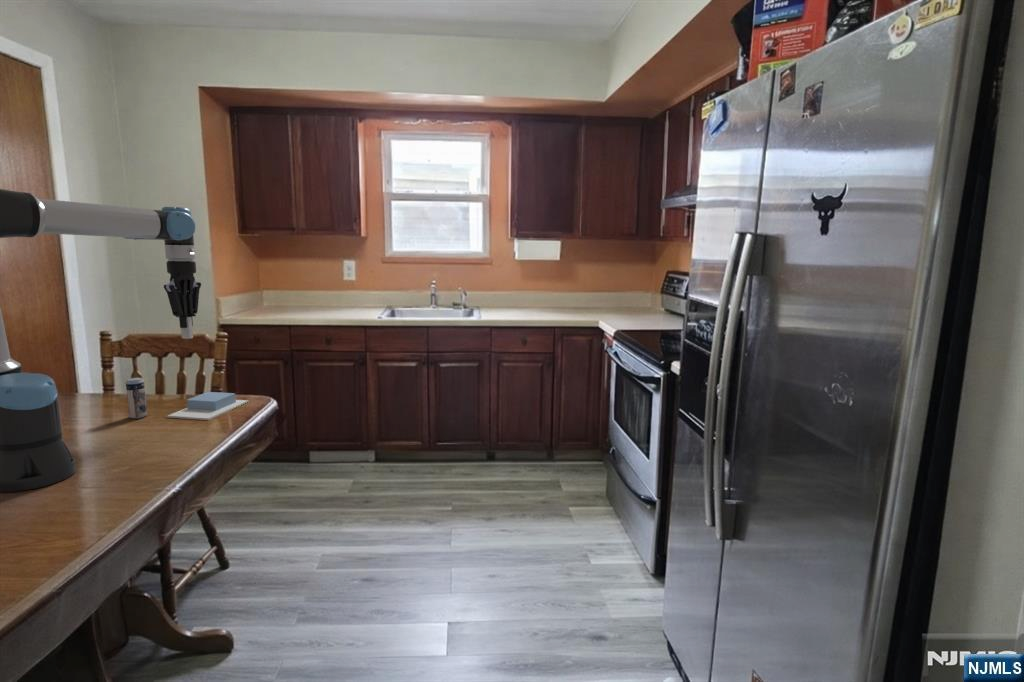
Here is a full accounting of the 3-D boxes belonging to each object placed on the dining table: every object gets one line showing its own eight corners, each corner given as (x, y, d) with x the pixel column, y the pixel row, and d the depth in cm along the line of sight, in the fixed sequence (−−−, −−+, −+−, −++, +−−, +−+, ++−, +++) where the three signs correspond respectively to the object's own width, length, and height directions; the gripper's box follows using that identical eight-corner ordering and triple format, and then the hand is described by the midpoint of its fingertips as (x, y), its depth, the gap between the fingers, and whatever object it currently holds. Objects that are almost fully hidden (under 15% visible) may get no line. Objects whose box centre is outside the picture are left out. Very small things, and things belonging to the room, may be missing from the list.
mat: (208, 420, 168) (208, 418, 167) (167, 417, 169) (167, 415, 169) (248, 402, 187) (248, 400, 187) (211, 400, 189) (210, 398, 189)
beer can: (140, 419, 167) (136, 381, 165) (125, 419, 167) (121, 380, 165) (151, 414, 172) (147, 377, 170) (136, 414, 172) (132, 377, 170)
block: (215, 401, 175) (235, 393, 184) (186, 399, 176) (208, 391, 186) (216, 410, 175) (235, 402, 185) (187, 408, 177) (208, 400, 186)
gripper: (176, 261, 158) (183, 342, 162) (207, 260, 170) (213, 335, 174) (152, 260, 159) (160, 341, 163) (185, 259, 171) (191, 334, 175)
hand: (187, 338), depth 168 cm, fingers closed
